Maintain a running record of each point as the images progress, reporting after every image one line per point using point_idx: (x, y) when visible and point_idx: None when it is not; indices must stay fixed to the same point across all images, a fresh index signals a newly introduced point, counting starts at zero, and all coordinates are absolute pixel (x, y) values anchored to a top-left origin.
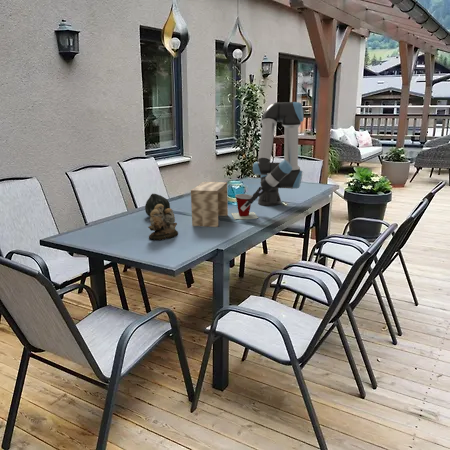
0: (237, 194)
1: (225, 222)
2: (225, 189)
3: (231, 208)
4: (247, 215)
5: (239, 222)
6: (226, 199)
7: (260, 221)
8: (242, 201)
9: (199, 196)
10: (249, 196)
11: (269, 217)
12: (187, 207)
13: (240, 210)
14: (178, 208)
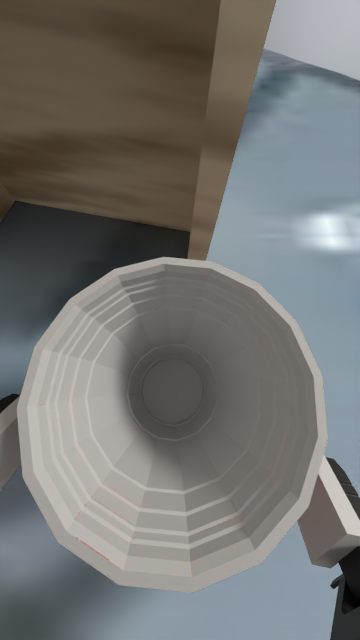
0: (253, 286)
1: (44, 285)
2: (214, 67)
3: (352, 313)
4: (148, 414)
5: (22, 360)
6: (193, 215)
7: (3, 522)
8: (79, 366)
9: None
10: (275, 483)
11: (115, 626)
12: (323, 147)
13: (135, 359)
14: (301, 125)
